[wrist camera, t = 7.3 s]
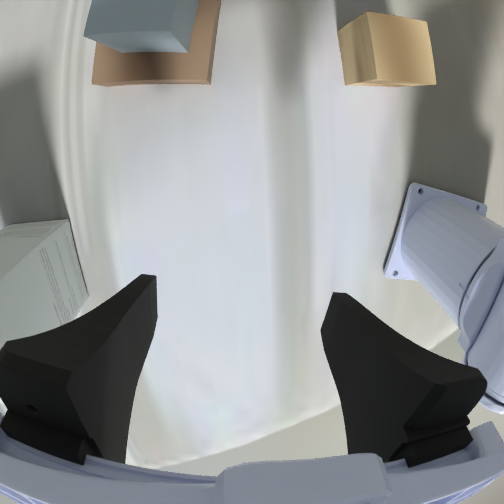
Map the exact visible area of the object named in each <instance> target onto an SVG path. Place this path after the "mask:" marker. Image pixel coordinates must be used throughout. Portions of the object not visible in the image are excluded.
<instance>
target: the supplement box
mask: <svg viewBox="0 0 504 504" xmlns="http://www.w3.org/2000/svg"><path fill="white" fill-rule="evenodd" d="M87 298H88V293H87V290H86V287H85V283H84V280H83V276H82V273H81V269H80V266H79V262H78V258H77V254H76V250H75V246H74V241H73V237H72V232H71V228H70V223H69V220H68V219H64V220H52V221H41V222H30V223H21V224H12V225H7V226H6V227H4V228H3V229H2V230H0V350H1V348H2V347H3V345H4V344H5V343H6V341H10V340H15V339H20V338H24V337H29V336H33V335H36V334H39V333H43V332H46V331H49V330H52V329H54V328H57V327H59V326H61V325H64V324H66V323H68V322H71V321H73V320H74V319H75V317H76V316H77V314H78V312H79V311H80V309H81V308H82V306H83V304H84V303H85V301H86V300H87ZM0 403H2V404H4V403H3V401H2V400H1V398H0Z"/></svg>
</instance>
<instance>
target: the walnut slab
mask: <svg viewBox="0 0 504 504" xmlns="http://www.w3.org/2000/svg"><path fill="white" fill-rule="evenodd" d="M220 6H221V0H199V3H198V8H197V12H196V17H195V22H194V26H193V31H192V36H191V41H190V47H189V52H188V53H179V52H125V53H121V52H119V51H117V50H115V49H112V48H110V47H108V46H106V45H103V44H101V43H99V42H97V43H96V50H95V57H94V66H93V75H92V84H94V85H101V86H107V87H109V86H122V85H140V84H208V85H211V76H212V67H213V58H214V50H215V42H216V34H217V27H218V19H219V12H220Z"/></svg>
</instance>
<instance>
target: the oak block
mask: <svg viewBox="0 0 504 504" xmlns="http://www.w3.org/2000/svg"><path fill="white" fill-rule="evenodd" d="M337 34H338V40H339V46H340V52H341V59H342V66H343V73H344V81H345V85H360V86H388V87H402V86H417V85H436V76H435V68H434V61H433V54H432V48H431V42H430V36H429V31H428V26H427V22H425V21H421V20H416V19H411V18H406V17H401V16H395V15H389V14H382V13H375V12H367V11H366V12H365V13H363V14H361V15H360V16H359V17H357V18H356V19H354V20H353V21H351V22H350V23H348V24H347V25H345V26H344V27H343V28H341V29H340V30H338V31H337Z"/></svg>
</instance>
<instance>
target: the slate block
mask: <svg viewBox="0 0 504 504" xmlns="http://www.w3.org/2000/svg"><path fill="white" fill-rule="evenodd" d="M198 3H199V0H92V3H91V6H90V10H89V14H88V18H87V22H86V27H85V31H84V37H87V38H89V39H92V40H94V41H96V42H99V43H101V44H103V45H106V46H108V47H110V48H112V49H115V50H117V51H119V52H121V53H125V52H179V53H188V52H189V47H190V41H191V36H192V31H193V26H194V22H195V17H196V12H197V8H198Z"/></svg>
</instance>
